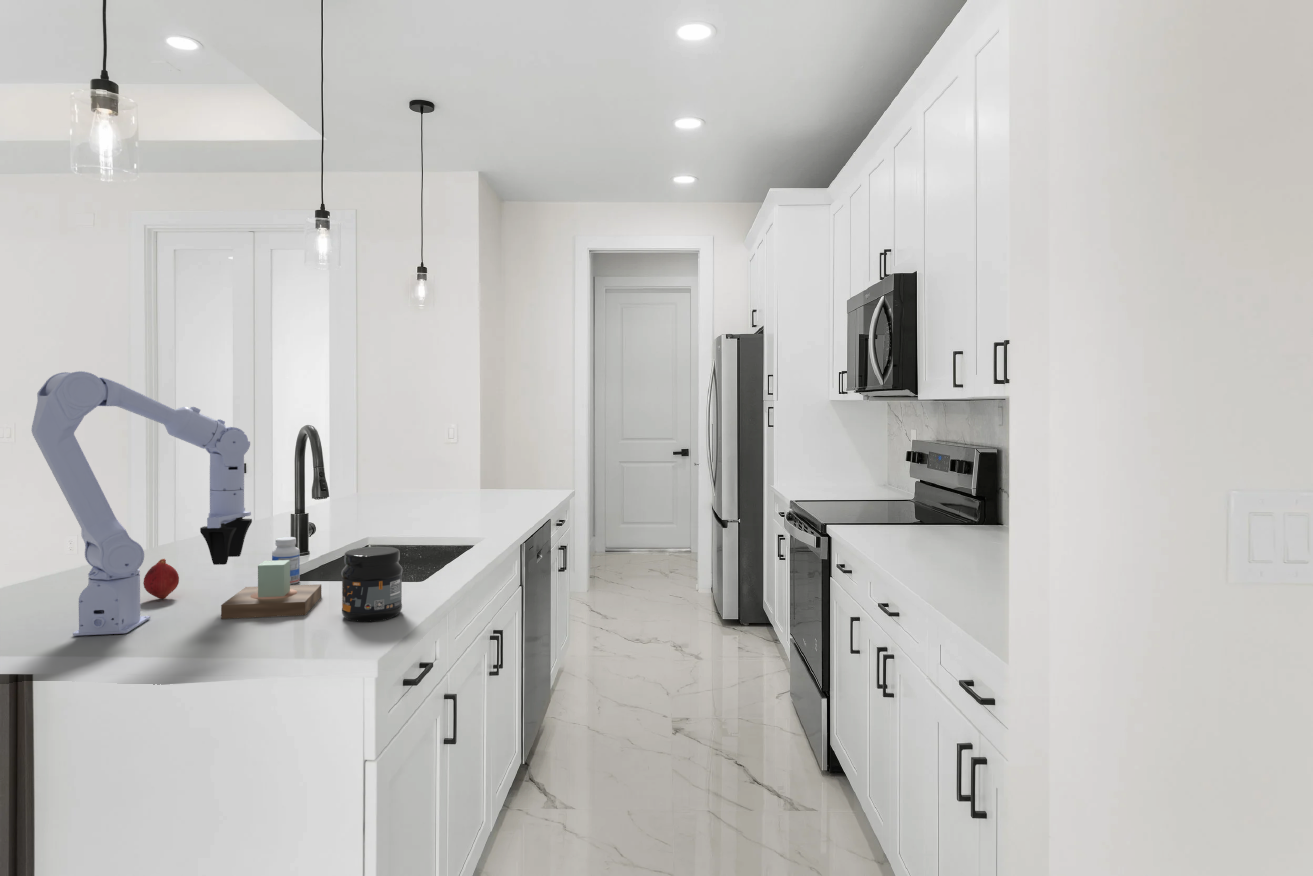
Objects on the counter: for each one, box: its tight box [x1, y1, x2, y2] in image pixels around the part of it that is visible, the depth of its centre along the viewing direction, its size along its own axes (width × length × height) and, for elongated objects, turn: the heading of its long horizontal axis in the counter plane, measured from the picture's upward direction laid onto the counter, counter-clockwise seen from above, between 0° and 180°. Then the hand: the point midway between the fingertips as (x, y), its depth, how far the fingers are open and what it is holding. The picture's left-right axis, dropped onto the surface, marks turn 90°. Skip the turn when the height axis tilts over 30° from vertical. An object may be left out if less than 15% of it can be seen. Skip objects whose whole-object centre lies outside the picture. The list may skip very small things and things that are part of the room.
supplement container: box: [340, 546, 403, 623], centre depth 138 cm, size 10×10×12 cm
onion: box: [142, 558, 180, 600], centre depth 148 cm, size 6×6×8 cm
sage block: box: [257, 560, 290, 597], centre depth 143 cm, size 4×4×6 cm
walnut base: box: [220, 583, 322, 620], centre depth 143 cm, size 14×14×3 cm
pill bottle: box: [271, 536, 301, 585], centre depth 163 cm, size 6×5×10 cm
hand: (227, 560), depth 143 cm, fingers open, 7 cm apart
